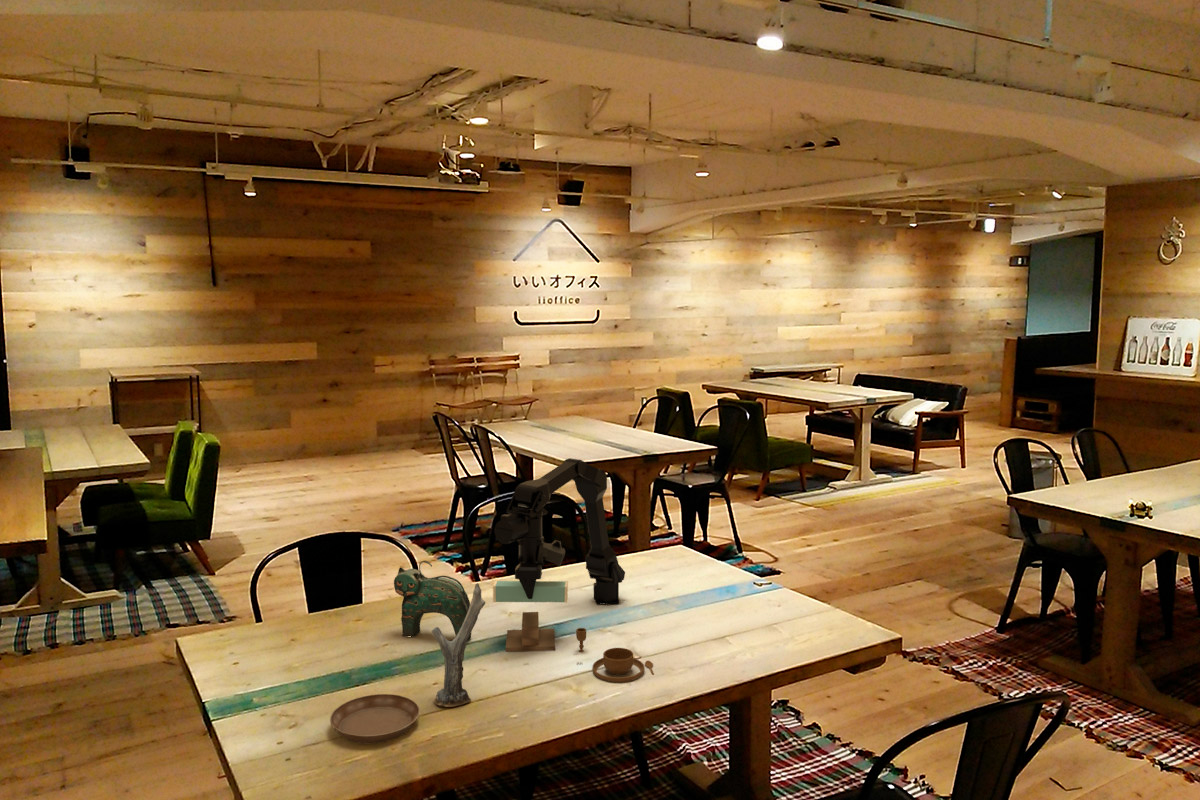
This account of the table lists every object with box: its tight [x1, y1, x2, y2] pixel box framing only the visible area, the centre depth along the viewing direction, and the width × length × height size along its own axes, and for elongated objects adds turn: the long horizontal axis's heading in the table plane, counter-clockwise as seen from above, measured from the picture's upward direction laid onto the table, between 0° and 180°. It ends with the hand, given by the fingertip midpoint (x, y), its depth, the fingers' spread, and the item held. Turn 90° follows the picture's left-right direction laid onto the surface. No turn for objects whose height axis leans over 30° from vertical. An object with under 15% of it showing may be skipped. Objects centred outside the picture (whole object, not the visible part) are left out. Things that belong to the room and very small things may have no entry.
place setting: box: [575, 627, 655, 683], centre depth 215 cm, size 18×20×6 cm
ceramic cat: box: [393, 560, 472, 643], centre depth 230 cm, size 20×6×20 cm, turn 73°
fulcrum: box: [505, 611, 556, 653], centre depth 228 cm, size 12×11×6 cm
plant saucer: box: [329, 693, 421, 745], centre depth 187 cm, size 18×18×3 cm
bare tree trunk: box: [431, 582, 486, 708], centre depth 197 cm, size 12×8×25 cm
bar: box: [492, 580, 569, 604], centre depth 228 cm, size 18×4×4 cm, turn 90°
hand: (530, 595), depth 228 cm, fingers closed on bar, 4 cm apart
